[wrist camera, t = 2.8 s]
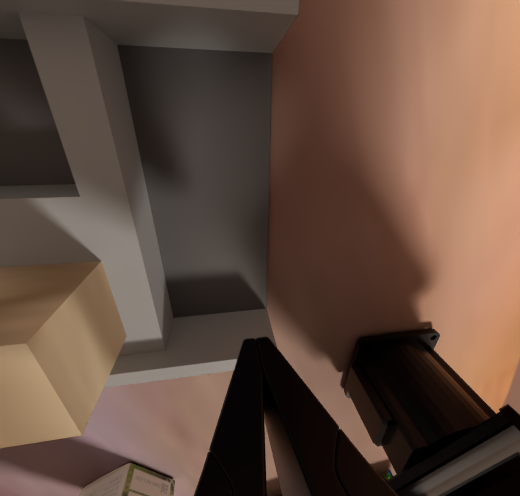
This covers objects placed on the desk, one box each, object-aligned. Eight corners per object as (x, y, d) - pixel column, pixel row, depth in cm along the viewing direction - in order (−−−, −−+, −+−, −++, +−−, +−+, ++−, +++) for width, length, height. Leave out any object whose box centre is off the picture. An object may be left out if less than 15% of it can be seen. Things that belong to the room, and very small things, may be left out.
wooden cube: (101, 260, 9) (26, 343, 6) (126, 336, 11) (82, 435, 7) (-18, 268, 9) (-187, 365, 5) (29, 346, 10) (-71, 459, 7)
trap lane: (272, 27, 9) (301, -30, 6) (265, 316, 15) (277, 364, 12) (-526, -29, 6) (-1355, -207, 3) (-125, 357, 12) (-244, 434, 9)
